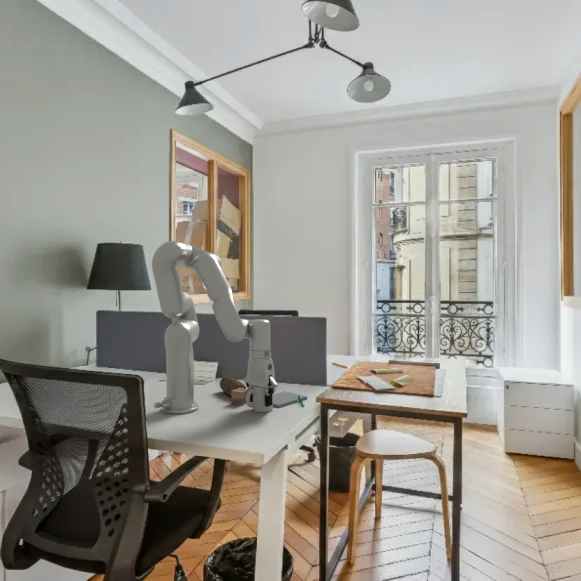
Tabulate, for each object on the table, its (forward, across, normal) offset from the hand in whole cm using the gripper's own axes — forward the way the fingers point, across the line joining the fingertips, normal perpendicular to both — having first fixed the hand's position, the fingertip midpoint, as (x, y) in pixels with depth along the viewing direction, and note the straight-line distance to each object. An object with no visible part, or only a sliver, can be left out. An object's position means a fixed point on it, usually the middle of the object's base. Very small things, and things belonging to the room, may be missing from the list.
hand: (260, 403), depth 163 cm
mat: (+3, +4, -15) cm, 15 cm away
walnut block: (+2, +12, -2) cm, 13 cm away
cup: (+3, +1, 0) cm, 3 cm away
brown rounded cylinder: (+3, +24, -7) cm, 25 cm away
